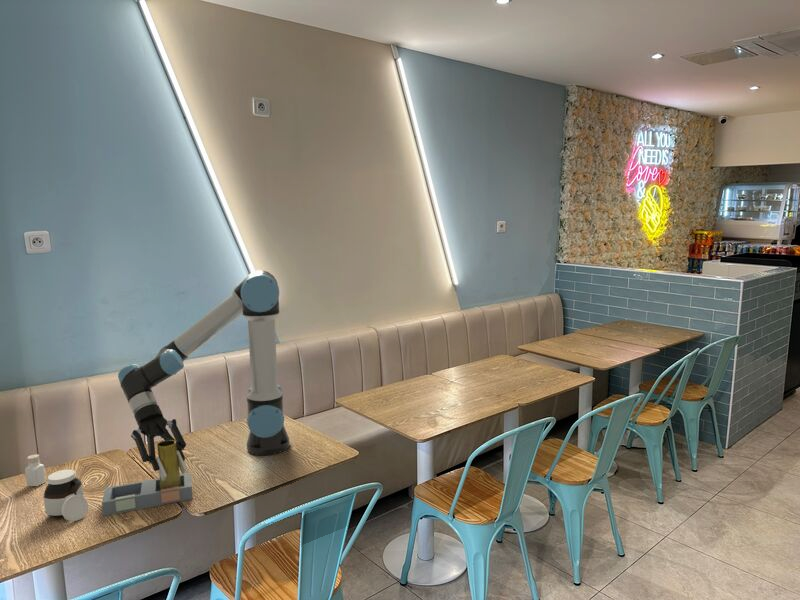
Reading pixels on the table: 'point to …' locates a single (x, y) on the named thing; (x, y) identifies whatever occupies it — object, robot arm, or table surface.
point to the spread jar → (65, 496)
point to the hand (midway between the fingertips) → (174, 474)
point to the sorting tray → (144, 495)
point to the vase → (169, 464)
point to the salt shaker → (35, 471)
